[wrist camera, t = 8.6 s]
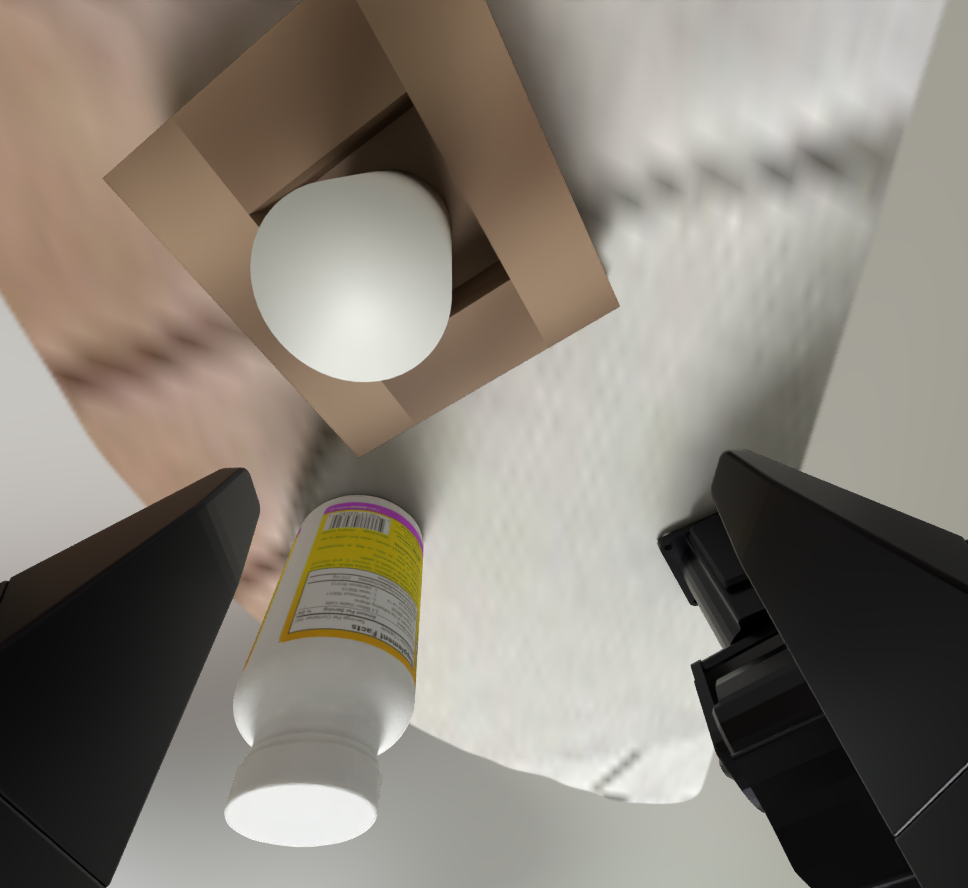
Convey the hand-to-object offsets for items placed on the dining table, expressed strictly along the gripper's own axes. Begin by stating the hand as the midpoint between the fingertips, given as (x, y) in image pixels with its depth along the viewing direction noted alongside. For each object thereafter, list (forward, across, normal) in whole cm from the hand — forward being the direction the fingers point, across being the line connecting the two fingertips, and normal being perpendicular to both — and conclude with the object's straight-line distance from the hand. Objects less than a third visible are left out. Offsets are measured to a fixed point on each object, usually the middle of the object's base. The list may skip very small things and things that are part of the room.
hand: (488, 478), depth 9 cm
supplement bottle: (+12, +6, +12) cm, 19 cm away
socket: (+12, +3, -3) cm, 13 cm away
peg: (+12, +3, -3) cm, 12 cm away
